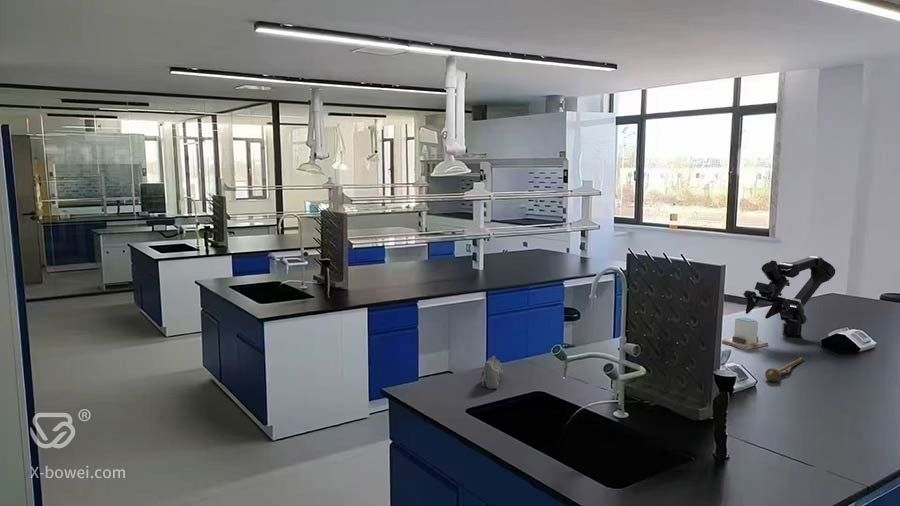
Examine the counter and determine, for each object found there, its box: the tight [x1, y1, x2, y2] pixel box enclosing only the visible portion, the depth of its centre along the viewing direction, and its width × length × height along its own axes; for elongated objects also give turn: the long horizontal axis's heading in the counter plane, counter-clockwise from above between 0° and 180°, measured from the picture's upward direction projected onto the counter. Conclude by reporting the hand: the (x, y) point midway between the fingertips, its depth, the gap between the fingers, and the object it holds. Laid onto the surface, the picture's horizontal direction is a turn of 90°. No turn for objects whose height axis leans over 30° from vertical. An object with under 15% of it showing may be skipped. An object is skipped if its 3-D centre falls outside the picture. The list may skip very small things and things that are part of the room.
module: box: [733, 317, 759, 344], centre depth 250 cm, size 5×7×9 cm
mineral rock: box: [480, 355, 505, 390], centre depth 207 cm, size 13×11×10 cm
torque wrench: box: [764, 356, 805, 383], centre depth 218 cm, size 5×35×5 cm
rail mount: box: [721, 335, 769, 351], centre depth 251 cm, size 14×11×3 cm
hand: (755, 315), depth 252 cm, fingers open, 9 cm apart
